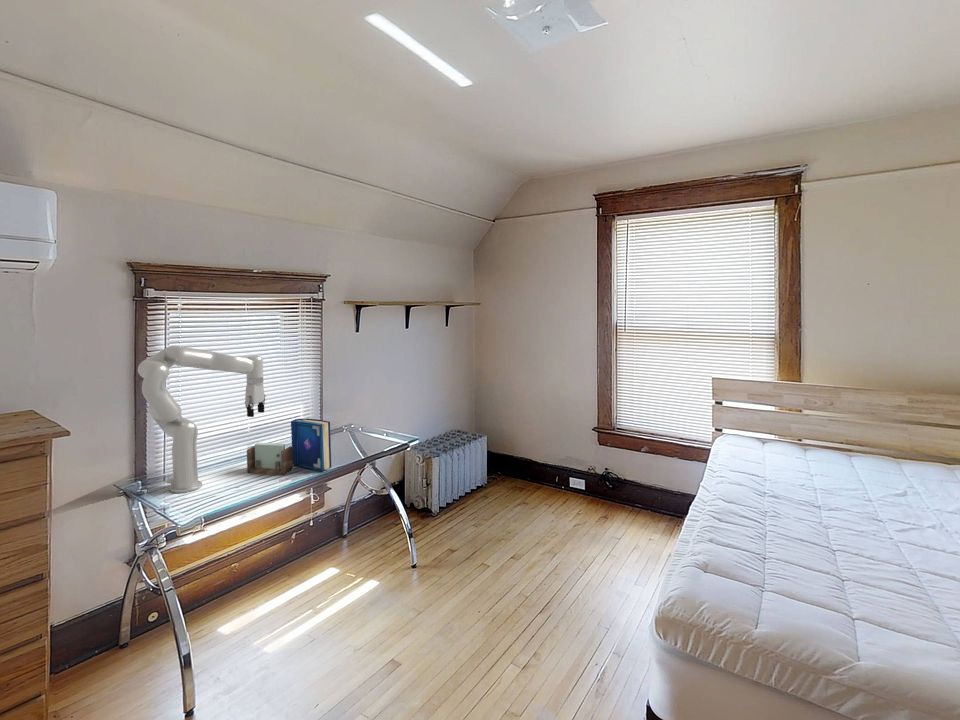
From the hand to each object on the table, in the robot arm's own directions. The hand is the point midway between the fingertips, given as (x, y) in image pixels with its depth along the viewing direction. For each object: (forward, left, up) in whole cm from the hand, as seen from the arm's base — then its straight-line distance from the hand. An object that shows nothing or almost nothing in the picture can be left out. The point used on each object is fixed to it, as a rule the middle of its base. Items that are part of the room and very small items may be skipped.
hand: (255, 414), depth 242 cm
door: (+8, -2, -26) cm, 28 cm away
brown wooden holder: (+8, -2, -28) cm, 29 cm away
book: (+25, +7, -28) cm, 39 cm away
